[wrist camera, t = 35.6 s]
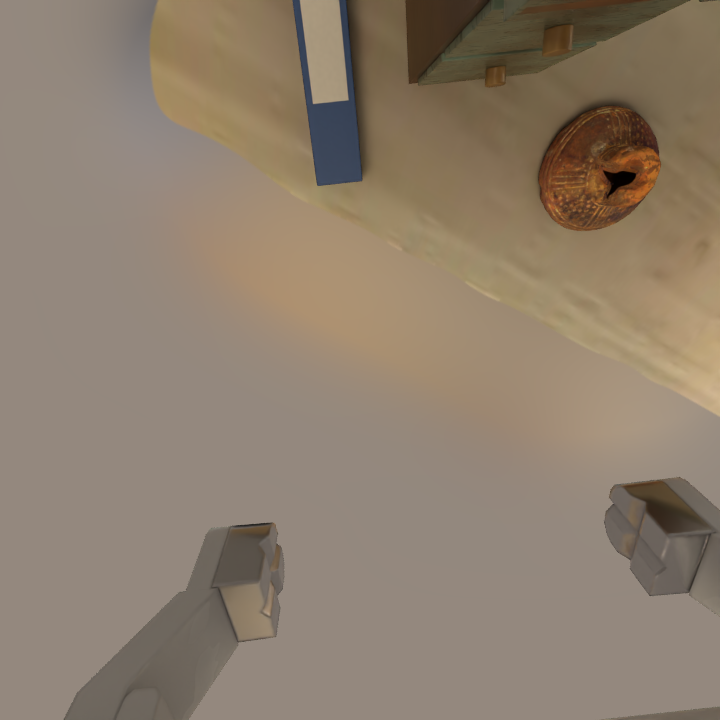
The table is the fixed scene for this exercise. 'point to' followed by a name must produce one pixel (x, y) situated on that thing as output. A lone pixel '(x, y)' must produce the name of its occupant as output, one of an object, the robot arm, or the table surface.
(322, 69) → the case
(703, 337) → the table surface
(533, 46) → the drawer stand
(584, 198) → the bell
